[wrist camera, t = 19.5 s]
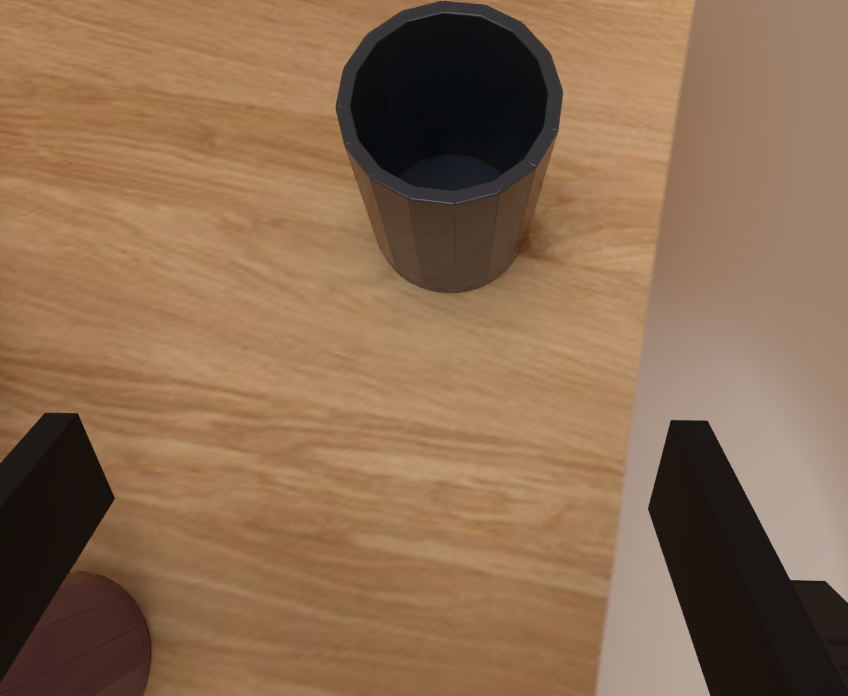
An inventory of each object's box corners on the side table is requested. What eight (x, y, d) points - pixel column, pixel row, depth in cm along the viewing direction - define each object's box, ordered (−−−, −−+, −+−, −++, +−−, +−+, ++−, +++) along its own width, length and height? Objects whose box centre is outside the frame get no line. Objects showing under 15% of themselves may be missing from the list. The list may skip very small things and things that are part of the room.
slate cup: (554, 194, 30) (601, 60, 20) (478, 321, 29) (489, 243, 19) (425, 127, 31) (411, -32, 21) (347, 246, 30) (294, 137, 20)
